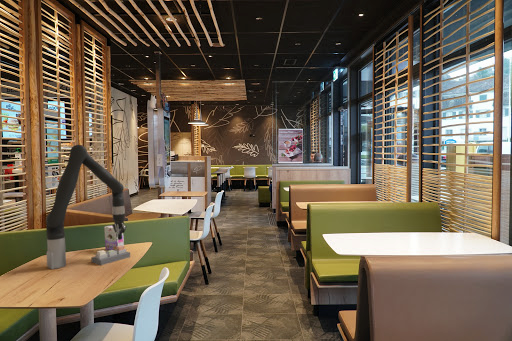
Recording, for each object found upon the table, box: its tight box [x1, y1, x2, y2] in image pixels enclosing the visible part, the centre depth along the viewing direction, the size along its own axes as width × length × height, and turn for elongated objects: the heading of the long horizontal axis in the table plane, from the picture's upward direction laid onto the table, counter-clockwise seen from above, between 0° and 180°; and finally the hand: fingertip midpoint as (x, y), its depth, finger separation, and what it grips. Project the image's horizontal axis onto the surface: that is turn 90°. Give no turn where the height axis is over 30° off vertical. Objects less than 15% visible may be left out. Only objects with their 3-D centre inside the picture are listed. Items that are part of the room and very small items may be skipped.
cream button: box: [96, 249, 107, 256], centre depth 219 cm, size 4×4×2 cm
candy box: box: [103, 225, 125, 251], centre depth 246 cm, size 14×6×16 cm, turn 58°
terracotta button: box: [116, 245, 125, 251], centre depth 229 cm, size 4×4×2 cm
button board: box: [91, 248, 131, 266], centre depth 224 cm, size 20×11×5 cm, turn 143°
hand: (119, 239), depth 229 cm, fingers closed
